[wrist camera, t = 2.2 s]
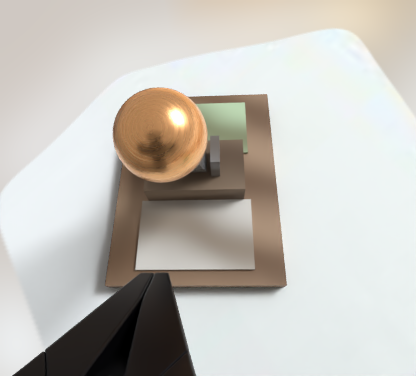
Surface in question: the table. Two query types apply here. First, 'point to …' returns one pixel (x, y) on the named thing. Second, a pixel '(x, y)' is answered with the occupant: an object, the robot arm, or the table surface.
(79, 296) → the table surface
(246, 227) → the switch base
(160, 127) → the toggle lever
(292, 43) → the table surface
